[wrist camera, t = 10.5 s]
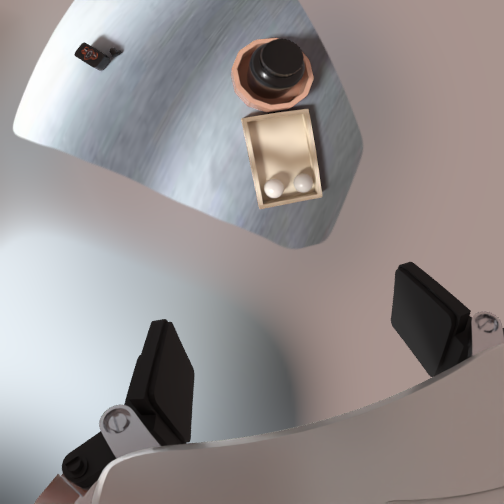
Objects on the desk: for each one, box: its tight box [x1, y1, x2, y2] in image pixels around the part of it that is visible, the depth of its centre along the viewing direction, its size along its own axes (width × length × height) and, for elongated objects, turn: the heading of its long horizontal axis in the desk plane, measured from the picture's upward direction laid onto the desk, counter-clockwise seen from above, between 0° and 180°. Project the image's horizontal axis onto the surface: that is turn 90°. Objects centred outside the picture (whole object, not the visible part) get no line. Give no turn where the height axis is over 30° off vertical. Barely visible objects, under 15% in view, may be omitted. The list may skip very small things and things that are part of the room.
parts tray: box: [241, 109, 322, 209], centre depth 40 cm, size 14×10×2 cm
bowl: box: [231, 38, 314, 113], centre depth 34 cm, size 11×11×4 cm
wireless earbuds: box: [75, 43, 122, 71], centre depth 29 cm, size 4×7×3 cm, turn 49°
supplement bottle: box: [247, 39, 305, 99], centre depth 30 cm, size 7×7×12 cm
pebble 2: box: [293, 173, 313, 193], centre depth 41 cm, size 3×3×3 cm
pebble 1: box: [264, 179, 284, 198], centre depth 41 cm, size 3×3×3 cm
